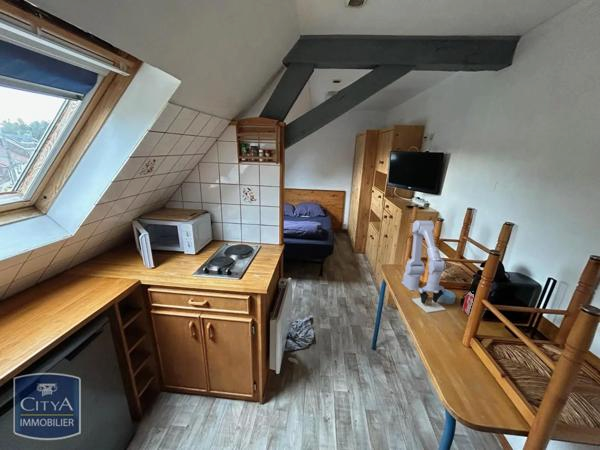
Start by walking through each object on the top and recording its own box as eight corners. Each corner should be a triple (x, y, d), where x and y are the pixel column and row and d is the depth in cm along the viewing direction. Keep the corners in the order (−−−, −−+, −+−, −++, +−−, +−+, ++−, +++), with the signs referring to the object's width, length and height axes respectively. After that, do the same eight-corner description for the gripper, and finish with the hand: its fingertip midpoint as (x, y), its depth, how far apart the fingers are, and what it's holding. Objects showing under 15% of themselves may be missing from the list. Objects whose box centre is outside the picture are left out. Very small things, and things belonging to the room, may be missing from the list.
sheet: (411, 299, 141) (413, 293, 140) (429, 297, 144) (430, 290, 143) (426, 312, 130) (428, 305, 129) (445, 309, 133) (447, 302, 132)
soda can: (479, 319, 127) (485, 299, 124) (464, 316, 129) (470, 297, 125) (473, 310, 134) (479, 291, 130) (459, 308, 135) (464, 289, 132)
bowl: (430, 295, 147) (432, 289, 146) (444, 293, 149) (445, 287, 148) (443, 305, 138) (445, 299, 136) (458, 303, 140) (459, 297, 139)
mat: (410, 299, 142) (410, 299, 141) (429, 297, 145) (429, 296, 145) (426, 314, 130) (426, 313, 129) (446, 311, 133) (446, 310, 133)
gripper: (427, 286, 127) (422, 308, 131) (450, 283, 131) (445, 304, 135) (418, 279, 133) (413, 300, 138) (440, 276, 137) (435, 297, 141)
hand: (428, 302), depth 137 cm, fingers open, 7 cm apart
